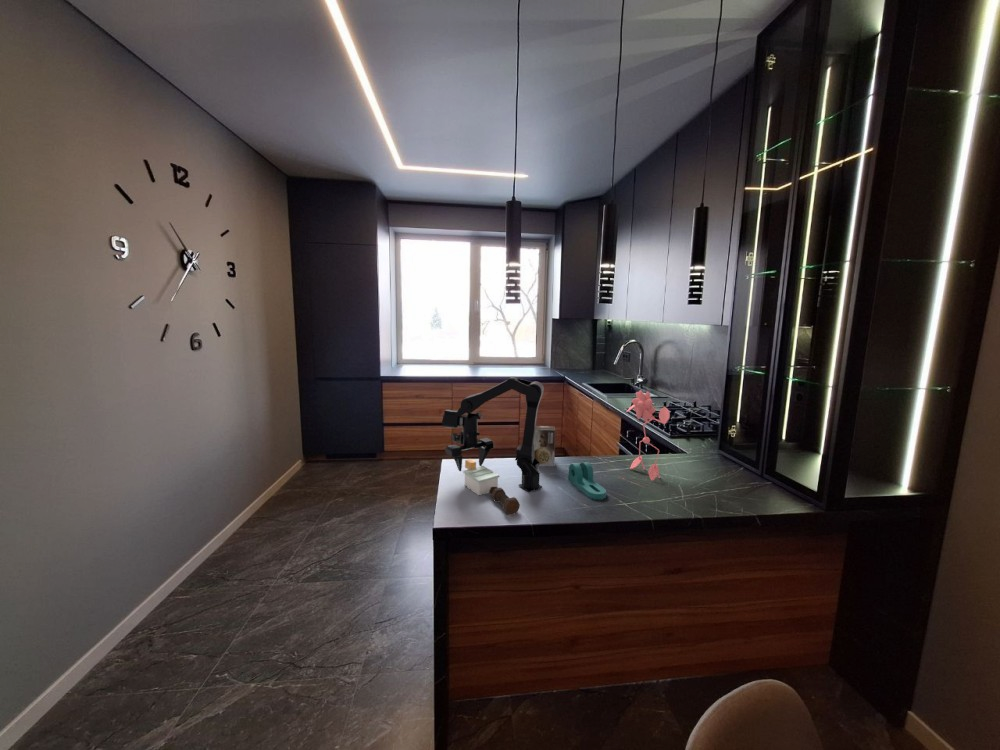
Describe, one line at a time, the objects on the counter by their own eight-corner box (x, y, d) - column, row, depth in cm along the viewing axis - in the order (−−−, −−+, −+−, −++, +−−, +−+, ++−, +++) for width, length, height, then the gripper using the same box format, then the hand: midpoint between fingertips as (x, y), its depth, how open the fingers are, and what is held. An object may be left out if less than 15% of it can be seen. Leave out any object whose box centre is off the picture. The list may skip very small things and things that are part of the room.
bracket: (568, 480, 152) (569, 461, 151) (583, 478, 155) (584, 459, 153) (592, 501, 136) (593, 479, 134) (609, 498, 138) (610, 477, 136)
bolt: (495, 499, 140) (514, 517, 126) (483, 495, 138) (502, 513, 124) (502, 484, 140) (522, 501, 127) (491, 480, 138) (510, 496, 125)
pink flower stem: (634, 462, 172) (637, 383, 166) (676, 486, 147) (682, 395, 142) (603, 466, 167) (606, 386, 162) (641, 492, 143) (646, 399, 137)
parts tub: (497, 490, 143) (497, 477, 142) (479, 495, 139) (479, 482, 138) (482, 480, 151) (482, 468, 150) (464, 485, 147) (464, 472, 146)
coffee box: (554, 461, 172) (555, 425, 170) (554, 466, 166) (555, 430, 163) (533, 460, 173) (534, 425, 171) (533, 465, 167) (533, 429, 164)
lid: (499, 477, 142) (499, 469, 142) (478, 482, 137) (478, 474, 137) (477, 464, 154) (477, 457, 154) (458, 469, 149) (457, 461, 149)
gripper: (479, 420, 160) (479, 457, 162) (438, 428, 149) (438, 467, 151) (495, 427, 151) (494, 465, 153) (452, 435, 140) (452, 476, 143)
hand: (470, 468), depth 150 cm, fingers open, 9 cm apart
